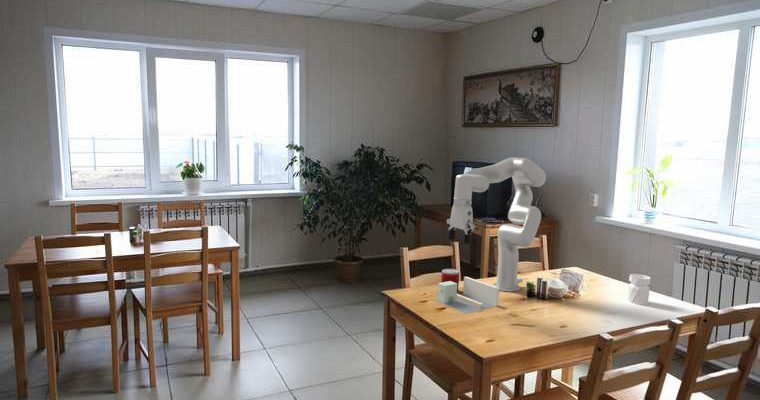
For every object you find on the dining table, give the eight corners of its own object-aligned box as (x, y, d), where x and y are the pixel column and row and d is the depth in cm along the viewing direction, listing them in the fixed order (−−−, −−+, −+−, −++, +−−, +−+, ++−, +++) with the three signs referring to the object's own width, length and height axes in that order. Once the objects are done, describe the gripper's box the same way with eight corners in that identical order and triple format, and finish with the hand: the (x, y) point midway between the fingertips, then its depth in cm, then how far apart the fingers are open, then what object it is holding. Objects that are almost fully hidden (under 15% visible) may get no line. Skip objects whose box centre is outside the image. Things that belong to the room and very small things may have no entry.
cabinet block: (449, 298, 232) (450, 280, 231) (456, 301, 228) (457, 283, 227) (436, 301, 228) (437, 283, 227) (443, 304, 224) (444, 286, 223)
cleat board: (465, 296, 240) (466, 276, 239) (498, 309, 224) (499, 288, 223) (433, 303, 230) (434, 282, 228) (465, 317, 213) (466, 294, 212)
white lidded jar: (646, 306, 234) (648, 280, 233) (625, 302, 240) (627, 276, 238) (649, 301, 241) (652, 276, 240) (629, 297, 247) (631, 272, 245)
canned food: (459, 296, 240) (460, 273, 239) (441, 296, 240) (442, 272, 239) (457, 291, 248) (458, 269, 246) (440, 291, 248) (441, 268, 246)
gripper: (482, 205, 224) (479, 244, 225) (455, 200, 238) (452, 237, 240) (469, 205, 220) (466, 245, 221) (442, 200, 234) (439, 238, 235)
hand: (459, 241), depth 230 cm, fingers open, 9 cm apart
